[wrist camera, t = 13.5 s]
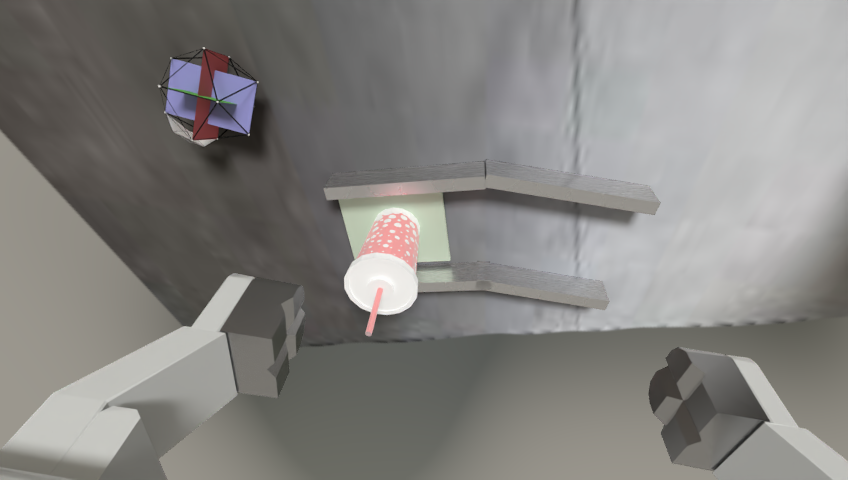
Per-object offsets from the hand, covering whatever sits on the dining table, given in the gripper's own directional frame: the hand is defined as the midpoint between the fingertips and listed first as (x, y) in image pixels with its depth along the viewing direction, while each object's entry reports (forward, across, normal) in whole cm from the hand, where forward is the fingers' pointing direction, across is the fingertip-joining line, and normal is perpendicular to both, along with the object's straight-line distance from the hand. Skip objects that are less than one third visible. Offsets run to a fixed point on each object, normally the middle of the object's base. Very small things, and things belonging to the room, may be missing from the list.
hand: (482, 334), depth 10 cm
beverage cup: (+29, +4, +17) cm, 34 cm away
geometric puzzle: (+29, +20, +6) cm, 36 cm away
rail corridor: (+29, -3, +17) cm, 34 cm away
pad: (+29, +5, +17) cm, 34 cm away
